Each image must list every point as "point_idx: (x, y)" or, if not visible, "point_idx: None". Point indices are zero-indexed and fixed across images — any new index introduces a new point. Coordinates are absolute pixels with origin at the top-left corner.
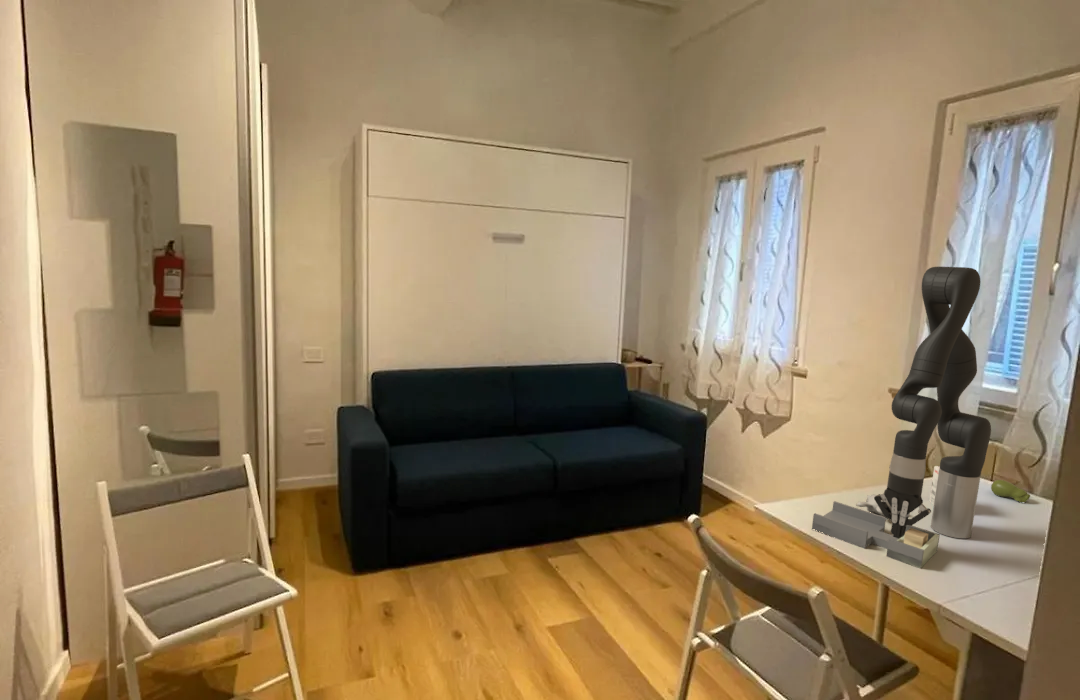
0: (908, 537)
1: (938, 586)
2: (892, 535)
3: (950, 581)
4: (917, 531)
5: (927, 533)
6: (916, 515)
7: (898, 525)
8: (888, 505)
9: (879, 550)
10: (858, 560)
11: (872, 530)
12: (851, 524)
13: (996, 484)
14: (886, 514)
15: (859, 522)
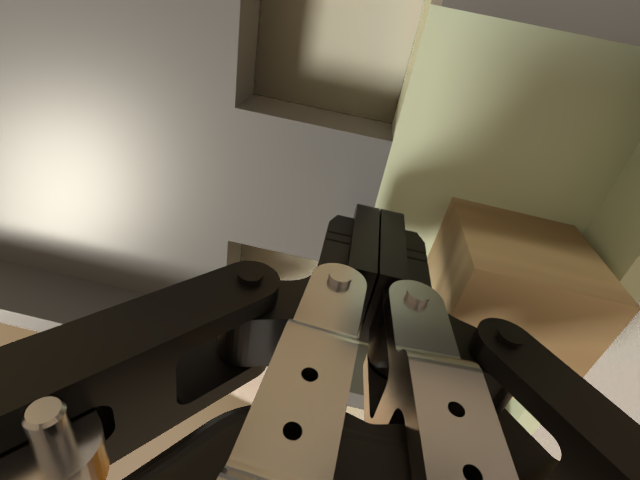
0: None
1: (546, 450)
2: (337, 135)
3: (618, 401)
4: (532, 314)
5: (631, 309)
6: (562, 473)
7: (364, 339)
8: None
9: (300, 275)
10: (251, 402)
11: (197, 139)
12: (55, 127)
13: None
14: (228, 368)
15: (64, 28)
